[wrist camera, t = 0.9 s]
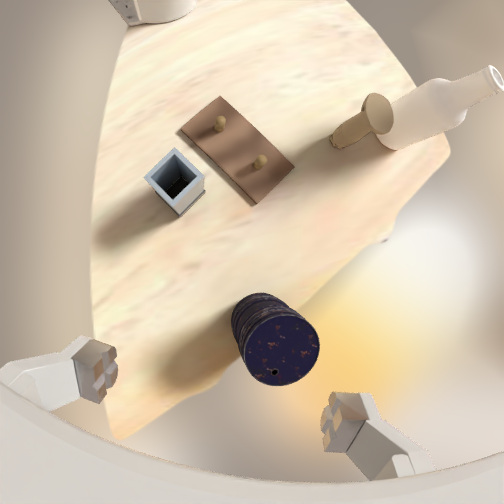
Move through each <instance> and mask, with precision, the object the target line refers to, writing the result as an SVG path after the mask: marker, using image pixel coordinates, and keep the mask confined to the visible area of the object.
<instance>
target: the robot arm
mask: <svg viewBox="0 0 504 504" xmlns="http://www.w3.org/2000/svg"><path fill="white" fill-rule="evenodd" d="M109 1H110V3H111V4H112V5H113V6H114V8H115V9H116V10H117V11H118V13H119V14H120V15H121V17H122V18H123V19H124V20H125V22H126V23H127V24H128V25H129V26H134V25H138V24H142V23H164V22H169V21H173V20H176V19H178V18H181V17H183V16H185V15H186V14H188V13H189V12H190V11H192V10H193V8H194V7H195V6H196V4H197V0H109ZM130 18H131V19H130ZM116 357H117V353H116V348H115V347H113V346H111V345H108V344H105V343H102V342H100V341H97V340H95V339H92V338H89V337H86V336H84V335H81V336H79V337H78V338H77V339H76V340H74V341H73V342H72V343H71V344H70V345H69V346H68V347H66V348H65V349H64V350H63V351H62V352H61V353H60V354H59V353H57V352H56V353H52V354H47V355H42V356H37V357H33V358H27V359H22V360H17V361H12V362H8V363H7V364H6V365H5V366H3V367H2V368H1V369H0V504H504V452H500V453H497V454H494V455H491V456H488V457H485V458H482V459H479V460H476V461H473V462H470V463H466V464H462V465H459V466H455V467H451V468H447V469H443V470H438V471H437V470H436V468H435V466H434V464H433V462H432V459H431V457H430V455H429V453H428V451H427V450H426V449H425V448H423V447H422V446H420V445H419V444H418V443H416V442H415V441H413V440H412V439H410V438H409V437H407V436H406V435H405V434H403V433H402V432H401V431H399V430H398V429H397V428H395V427H394V426H392V425H391V424H390V423H388V422H387V421H385V420H382V419H381V416H380V414H379V412H378V409H377V407H376V404H375V402H374V399H373V397H372V395H371V394H370V393H346V392H332V393H331V394H330V397H329V399H328V400H329V405H328V406H327V407H325V408H324V411H323V413H322V417H321V431H322V432H323V433H324V434H325V435H324V437H323V445H324V451H325V452H339V453H346V455H347V456H348V457H349V458H350V459H351V460H352V461H353V463H354V464H355V465H356V466H357V467H358V468H359V469H360V470H361V472H362V473H363V474H364V475H365V476H366V477H367V478H368V479H369V480H370V481H360V482H339V483H312V482H288V481H276V480H265V479H256V478H248V477H242V476H235V475H229V474H223V473H218V472H213V471H208V470H203V469H198V468H194V467H189V466H186V465H182V464H178V463H174V462H170V461H167V460H163V459H160V458H157V457H153V456H150V455H147V454H144V453H141V452H138V451H135V450H132V449H130V448H127V447H124V446H122V445H119V444H116V443H114V442H111V441H109V440H106V439H104V438H101V437H99V436H97V435H94V434H92V433H90V432H87V431H86V430H83V429H81V428H79V427H77V426H75V425H73V424H71V423H69V422H67V421H65V420H63V419H61V418H59V417H57V416H55V415H53V414H52V413H50V412H49V411H52V410H54V409H56V408H58V407H61V406H63V405H65V404H68V403H70V402H72V401H74V400H76V399H79V398H80V397H83V398H85V399H88V400H90V401H93V402H95V403H98V404H100V402H101V401H102V400H103V398H104V397H105V396H106V394H107V391H106V389H108V388H111V387H112V386H113V385H114V383H115V381H116V378H117V374H118V365H117V364H116V362H115V361H114V359H115V358H116Z"/></svg>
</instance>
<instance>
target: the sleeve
mask: <svg viewBox="0 0 504 504" xmlns="http://www.w3.org/2000/svg"><path fill="white" fill-rule="evenodd" d="M181 176H182V177H183V178H184V179H185V180H186V181H187V182H188V183H189V185H188V186H187V187H186V188H185V189H184V190H183V191H182V192H180V193H179V194H178V195H177V196H176V197H175V198H174V200H172V199H171V198H170V197H169V196H168V195H167V194H166V193H165V192H166V191H167V190H168V189H169V188H170V187H171V186H172V185H173V184H174V183H175V182H176V181H177V180H178V179H179V178H180V177H181ZM144 179H145V180H146V181H147V182H148V183H149V184H150V185H151V186H152V187H153V188H154V189H155V190H156V191H155V192H156V193H157V194H158V195H159V196H160V197H161V198H162V199H163V200H164V201H165V203H166V204H167V205H168V206H169V207H170V208H171V209H172V210H173V211H174V212H175V213H176V214H177V215H178V216H179V217H180V218H181V217H182V216H183V215H184V214H185V213H186V212H187V211H188V210H189V209H190V208H191V207H192V206H193V205H194V204H195V203H196V202H197V201H198V200H199V199H200V198H201V197H202V196H203V195H204V194H205V190H204V175H203V174H202V173H201V172H200V171H199V170H198V169H197V168H196V167H194V166H193V165H192V164H191V163H190V162H189V161H188V160H187V159H186V158H185V157H184V156H183V155H182V154H181V153H180V152H179V151H178V150H177V149H176V148H174V149H172V150H171V151H170V152H169V153H168V154H167V155H166V156H165V157H164V158H163V159H162V160H161V161H160V162H159V163H158V164H157V165H156V166H155V167H154V168H153V169H152V170H151V171H150V172H149V173H148V174H147V175H146V176H145V177H144Z"/></svg>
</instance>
